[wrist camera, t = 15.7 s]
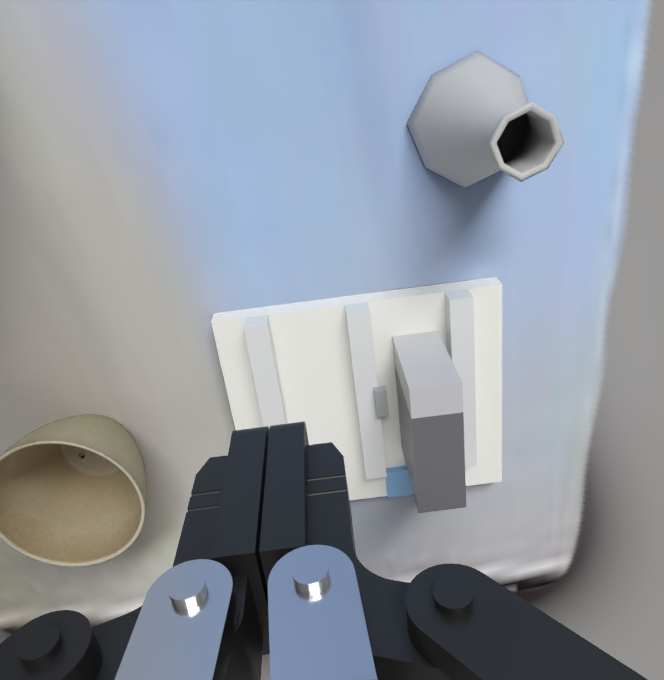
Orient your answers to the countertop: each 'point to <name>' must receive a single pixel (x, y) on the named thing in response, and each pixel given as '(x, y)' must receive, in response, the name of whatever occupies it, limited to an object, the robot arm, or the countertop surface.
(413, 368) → the grey rectangular block
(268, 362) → the board
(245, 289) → the countertop surface
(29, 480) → the flower pot
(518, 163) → the flask
